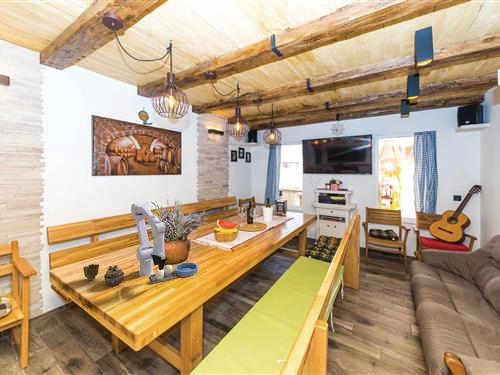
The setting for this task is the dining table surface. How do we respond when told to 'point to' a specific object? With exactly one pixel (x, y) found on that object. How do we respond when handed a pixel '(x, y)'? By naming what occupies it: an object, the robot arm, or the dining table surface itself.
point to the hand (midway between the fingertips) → (158, 267)
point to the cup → (91, 271)
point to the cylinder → (168, 270)
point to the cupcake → (113, 276)
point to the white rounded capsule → (159, 275)
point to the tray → (153, 278)
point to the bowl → (186, 269)
